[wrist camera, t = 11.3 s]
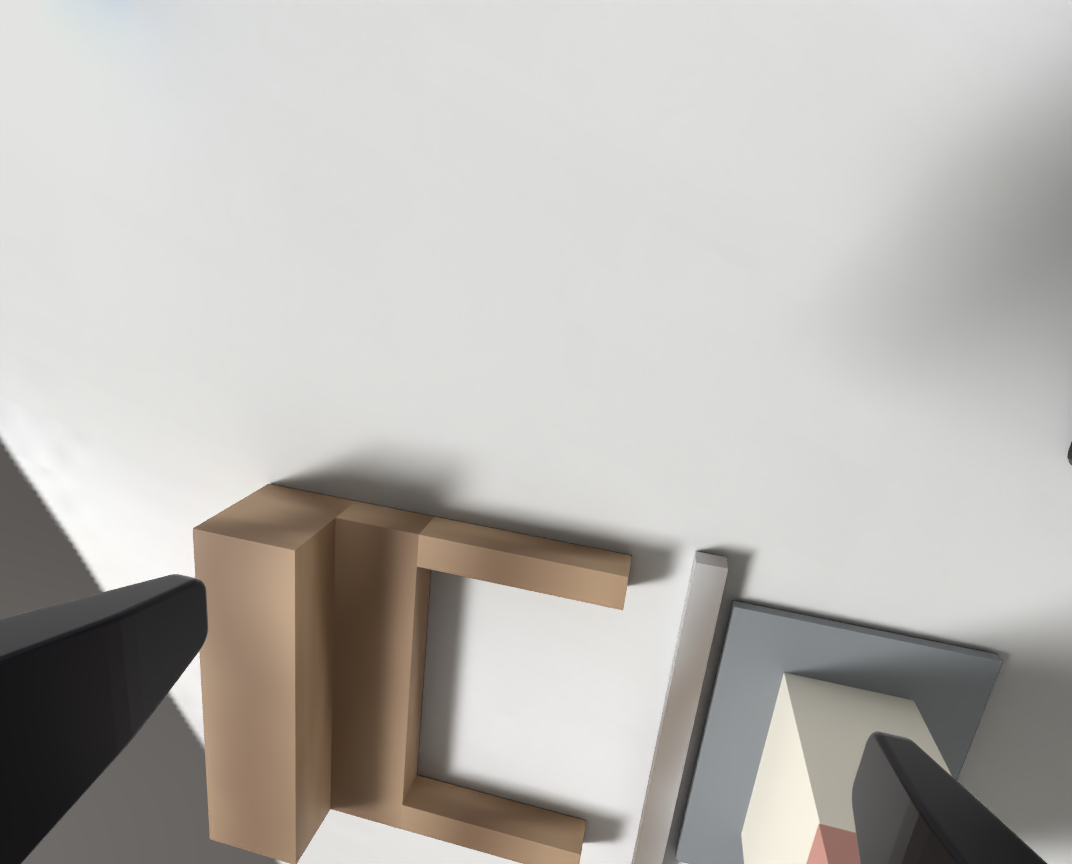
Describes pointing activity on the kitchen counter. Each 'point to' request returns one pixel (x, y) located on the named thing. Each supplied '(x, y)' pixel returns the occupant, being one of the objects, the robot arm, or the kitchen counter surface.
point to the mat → (828, 655)
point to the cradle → (387, 672)
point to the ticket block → (819, 770)
